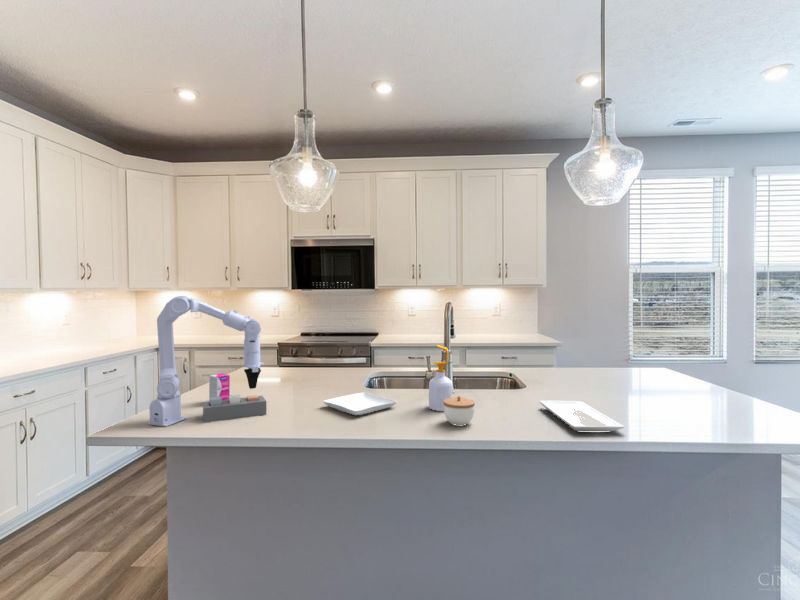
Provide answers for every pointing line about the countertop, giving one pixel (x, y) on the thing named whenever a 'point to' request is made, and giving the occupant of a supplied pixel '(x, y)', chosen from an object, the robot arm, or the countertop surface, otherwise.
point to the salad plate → (360, 403)
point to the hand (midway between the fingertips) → (252, 388)
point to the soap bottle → (440, 386)
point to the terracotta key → (252, 398)
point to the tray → (566, 411)
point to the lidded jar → (458, 410)
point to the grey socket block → (234, 409)
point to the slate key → (215, 401)
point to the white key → (234, 399)
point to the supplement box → (219, 386)
